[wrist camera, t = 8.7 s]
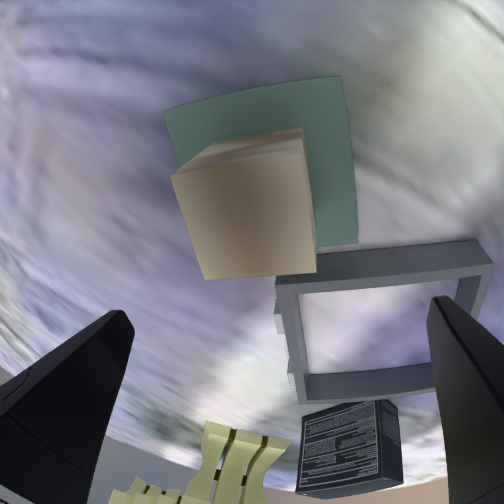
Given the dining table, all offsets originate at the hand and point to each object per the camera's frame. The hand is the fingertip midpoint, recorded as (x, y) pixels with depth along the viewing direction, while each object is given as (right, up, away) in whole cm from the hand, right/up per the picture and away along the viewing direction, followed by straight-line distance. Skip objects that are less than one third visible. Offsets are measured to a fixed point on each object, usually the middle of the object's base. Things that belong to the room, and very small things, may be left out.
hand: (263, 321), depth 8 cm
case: (+10, -4, +15) cm, 18 cm away
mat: (+1, +7, +10) cm, 12 cm away
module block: (0, +6, +9) cm, 11 cm away
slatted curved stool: (-2, -30, +34) cm, 46 cm away
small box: (+12, -18, +23) cm, 31 cm away
